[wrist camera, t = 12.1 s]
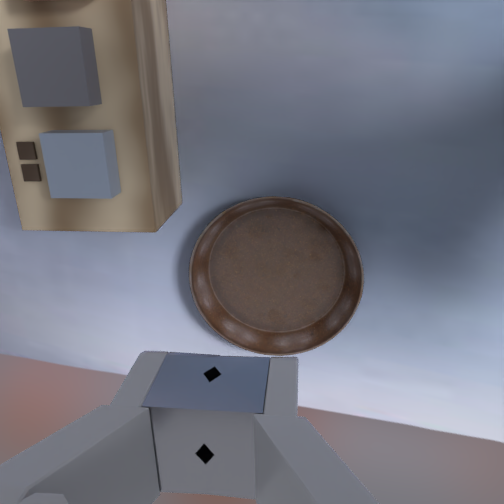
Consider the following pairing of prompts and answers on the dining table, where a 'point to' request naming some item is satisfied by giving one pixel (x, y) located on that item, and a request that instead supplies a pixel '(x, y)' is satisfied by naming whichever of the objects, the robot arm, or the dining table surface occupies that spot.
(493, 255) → the dining table surface
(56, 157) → the slate key
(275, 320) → the plant saucer
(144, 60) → the wooden key base
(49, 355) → the dining table surface
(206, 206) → the dining table surface
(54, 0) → the terracotta key
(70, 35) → the charcoal key
